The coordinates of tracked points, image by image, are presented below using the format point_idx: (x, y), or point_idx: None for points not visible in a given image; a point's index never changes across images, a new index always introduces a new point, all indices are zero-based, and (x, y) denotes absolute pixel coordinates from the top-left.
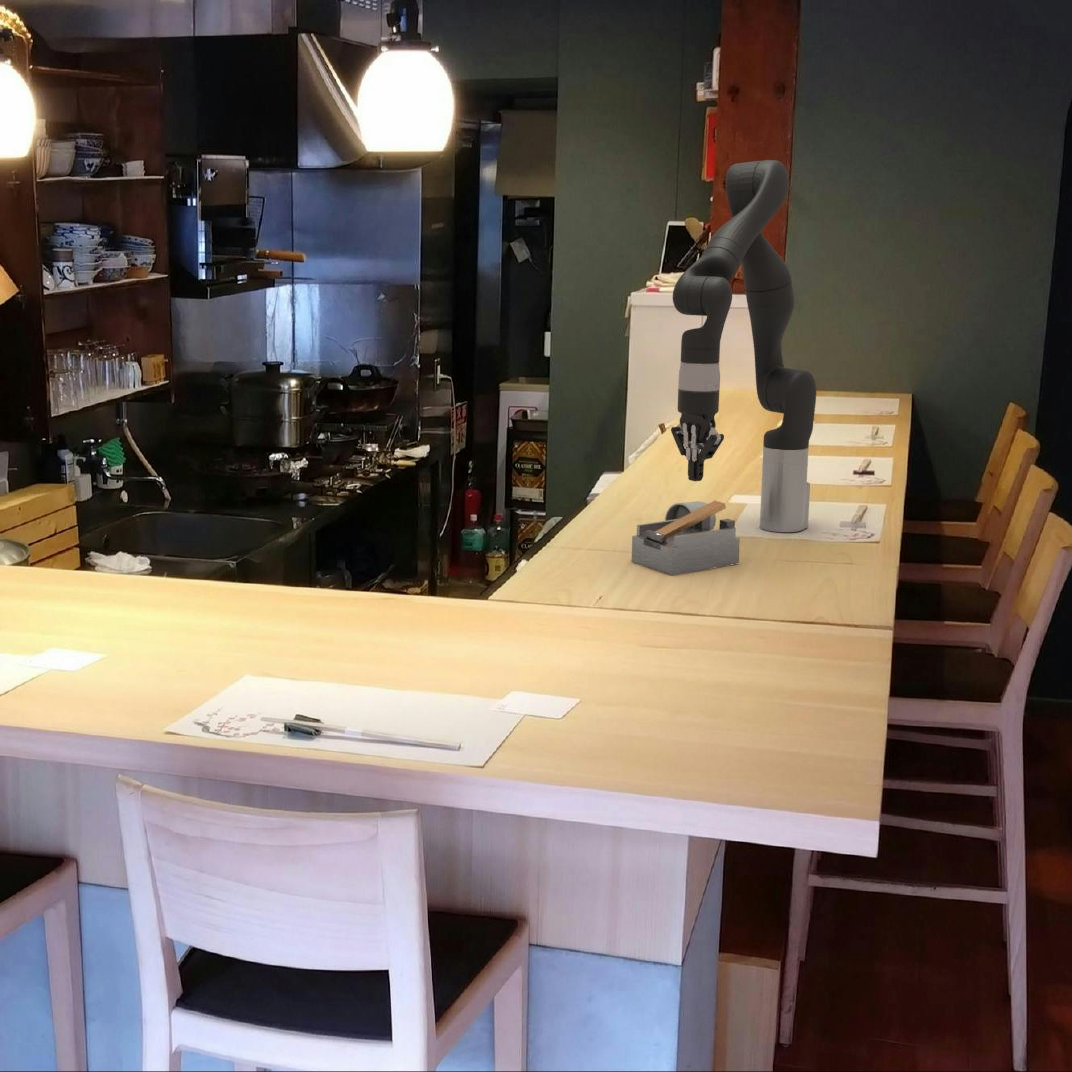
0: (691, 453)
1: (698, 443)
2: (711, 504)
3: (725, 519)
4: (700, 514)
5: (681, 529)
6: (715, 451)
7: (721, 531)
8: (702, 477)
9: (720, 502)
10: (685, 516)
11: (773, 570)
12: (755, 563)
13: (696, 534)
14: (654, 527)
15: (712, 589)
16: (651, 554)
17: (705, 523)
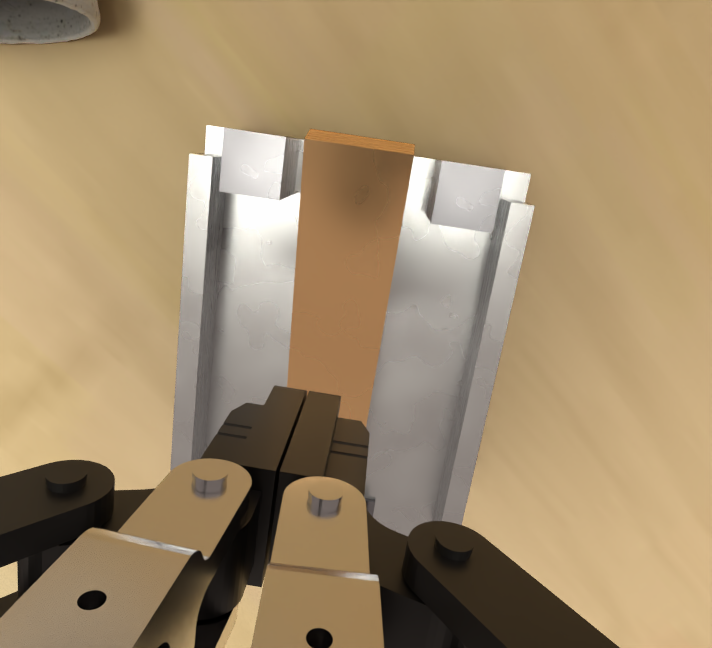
0: (219, 638)
1: (175, 639)
2: (331, 198)
3: (444, 187)
4: (366, 326)
5: None
6: (579, 623)
7: (511, 303)
8: (361, 425)
9: (370, 152)
10: (297, 361)
11: (675, 140)
12: (550, 102)
13: (476, 453)
14: (200, 424)
15: (649, 513)
16: None
17: (291, 173)
